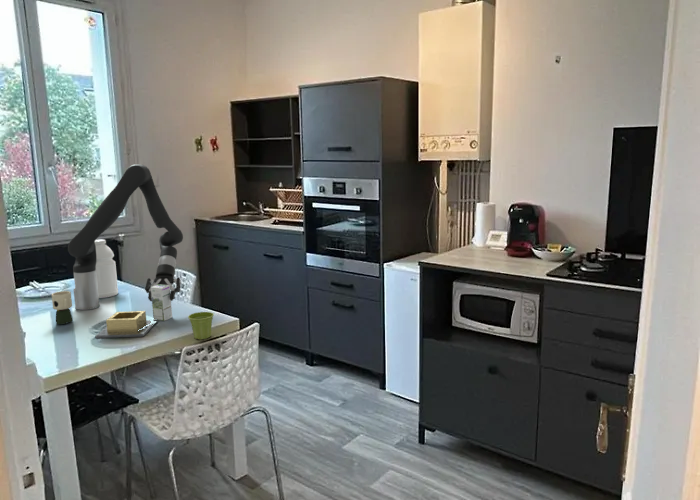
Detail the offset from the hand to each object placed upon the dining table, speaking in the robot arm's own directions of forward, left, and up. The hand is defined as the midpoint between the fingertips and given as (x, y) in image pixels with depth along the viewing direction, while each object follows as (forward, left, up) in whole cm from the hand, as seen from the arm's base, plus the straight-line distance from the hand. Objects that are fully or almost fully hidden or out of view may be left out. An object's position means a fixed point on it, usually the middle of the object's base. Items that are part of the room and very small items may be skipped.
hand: (160, 300), depth 226 cm
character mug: (-40, -1, -9) cm, 41 cm away
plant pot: (+22, -25, -9) cm, 34 cm away
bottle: (-42, +46, -9) cm, 63 cm away
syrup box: (0, +1, -9) cm, 9 cm away
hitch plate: (-10, -13, -8) cm, 18 cm away
